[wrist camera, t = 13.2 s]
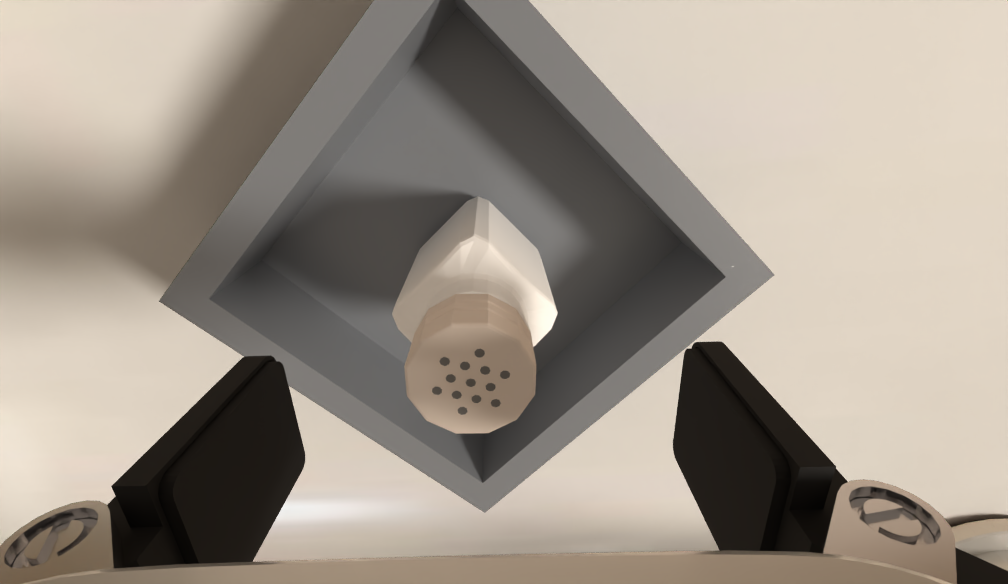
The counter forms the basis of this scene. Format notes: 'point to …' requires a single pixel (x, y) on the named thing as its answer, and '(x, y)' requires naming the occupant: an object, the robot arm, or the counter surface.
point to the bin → (433, 201)
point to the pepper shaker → (474, 321)
